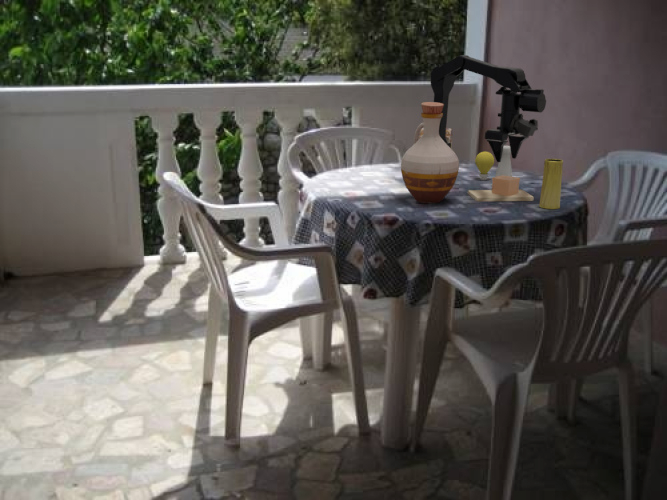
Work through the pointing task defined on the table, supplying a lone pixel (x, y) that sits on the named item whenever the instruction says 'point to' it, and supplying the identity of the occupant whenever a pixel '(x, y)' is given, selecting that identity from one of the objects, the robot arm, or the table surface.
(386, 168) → the table surface
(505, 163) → the salt shaker
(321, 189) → the table surface
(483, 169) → the light bulb
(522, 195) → the base board
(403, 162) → the jug
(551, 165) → the vase
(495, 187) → the orange block
